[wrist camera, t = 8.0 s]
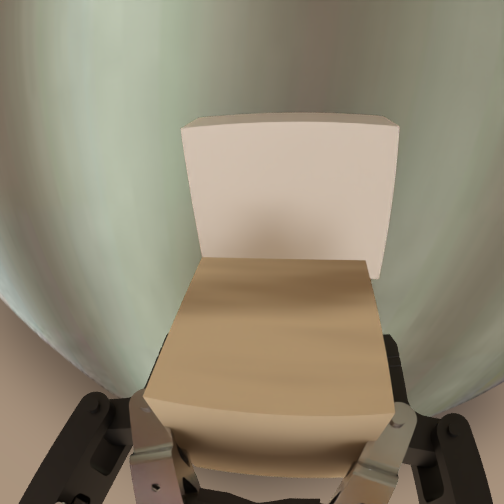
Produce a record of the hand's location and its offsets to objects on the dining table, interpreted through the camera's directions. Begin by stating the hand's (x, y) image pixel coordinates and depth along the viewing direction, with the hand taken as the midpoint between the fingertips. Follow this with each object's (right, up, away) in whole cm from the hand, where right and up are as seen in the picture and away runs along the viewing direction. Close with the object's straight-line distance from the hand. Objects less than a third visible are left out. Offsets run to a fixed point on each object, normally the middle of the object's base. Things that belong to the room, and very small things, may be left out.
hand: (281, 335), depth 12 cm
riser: (+2, +8, +12) cm, 15 cm away
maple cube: (0, +1, +1) cm, 1 cm away
